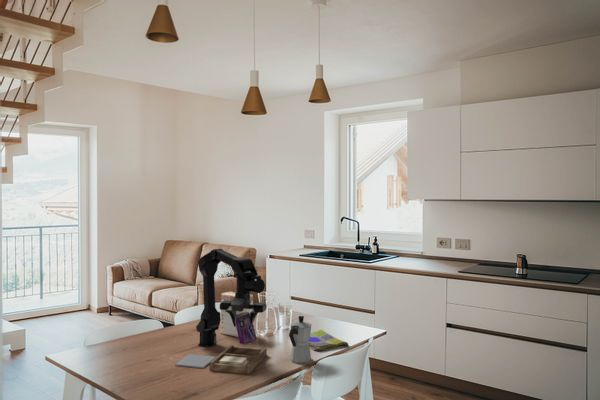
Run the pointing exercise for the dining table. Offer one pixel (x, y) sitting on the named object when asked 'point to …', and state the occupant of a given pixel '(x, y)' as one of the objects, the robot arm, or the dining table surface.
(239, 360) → the offcut stack
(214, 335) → the robot arm
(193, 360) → the slate mat
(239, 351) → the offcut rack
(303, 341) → the coffee maker
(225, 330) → the coffeecake box
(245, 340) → the beverage can
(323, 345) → the dish towel
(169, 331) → the dining table surface
